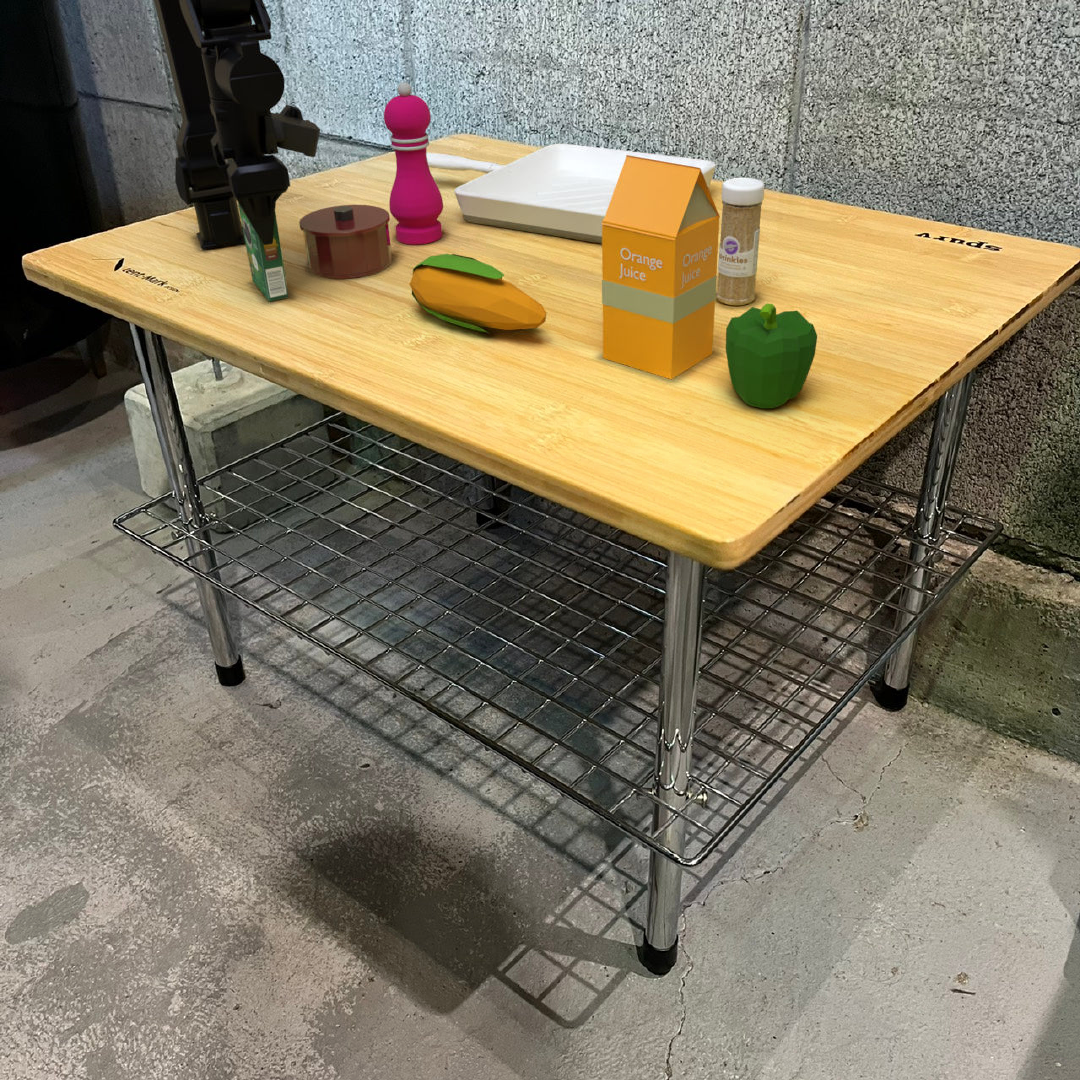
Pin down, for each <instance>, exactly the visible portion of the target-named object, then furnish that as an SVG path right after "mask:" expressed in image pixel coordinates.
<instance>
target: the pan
mask: <svg viewBox="0 0 1080 1080" xmlns="http://www.w3.org/2000/svg"><path fill="white" fill-rule="evenodd" d="M626 155H629V156H635V157H641V158H646V159H652V160H658V161H663V162H669V163H675V164H680V165H686V166H692V167H697V168H700V169H701V171H702V174H703V176H704V179H705V181H706V184H707V186H708V189H709V190H710V186H711V182H712V180H713V177H714V174H715V170H716V167H717V164H716V162H715V161H712V160H707V159H702V158H701V159H699V158H691V157H683V156H675V155H668V154H667V155H666V154H657V153H650V152H649V153H648V152H639V151H630V150H623V149H614V148H606V147H597V146H587V145H580V144H571V143H553V144H549V145H545V146H544V147H541V148H539V149H537V150H534V151H533V152H531V153H528V154H526V155H524V156H522V157H520V158H518V159H516V160H514V161H511V162H509V163H507V164H505V165H504V164H499V163H498V162H493V161H492V162H491V161H482V160H476V159H470V158H468V157H463V156H461V155H453V154H446V153H438V152H426V156H427V162H428V166H429V168H431V169H439V170H445V171H456V172H465V171H474V172H478V173H484V174H483V175H481V176H479V177H476V178H474V179H472V180H469V181H468V182H465V183H463V184H460V185H459V186H457V187H456V188H454V191H453V193H454V195H455V198H456V200H457V204H458V206H459V209H460V212H461V214H462V216H463V218H464V220H465V221H466V222H468V223H471V224H478V225H483V226H489V227H495V228H503V229H508V230H514V231H515V230H516V231H522V232H528V233H534V234H539V235H540V234H541V235H546V236H552V237H553V236H554V237H559V238H565V239H570V240H577V241H582V242H589V243H594V244H600V245H602V221H603V220H604V218H605V215H606V212H607V209H608V206H609V204H610V201H611V198H612V195H613V192H614V190H615V187H616V184H617V181H618V178H619V176H620V173H621V170H622V167H623V164H624V162H625V159H626Z"/></svg>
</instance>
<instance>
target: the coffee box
mask: <svg viewBox="0 0 1080 1080" xmlns="http://www.w3.org/2000/svg"><path fill="white" fill-rule="evenodd" d="M237 204H238V210H239V215H240V220H241V225H242V227H243V231H244V237H245V242H246V243H245V247H246V252H247V258H248V263H249V268H250V273H251V280H252V282H253V284H254V285H255V286H256V288H258V290H259V291H260V292H261V294H262V295H263V296H264V297H265V299H266V300H267V301H268V302H273V301H281V300H286V299H289V297H290V296H289V295H290V294H289V289H288V282H287V276H286V270H285V264H284V259H283V252H282V245H281V239H280V233H279V227H278V221H277V214H276V212H275V219H274V235H273V243H272V244H269V245H264V244H263V243H262V241H261V239H260V238H259V236H258V234H257V233H256V231H255V229H254V228H253V226H252V224H251V223H250V221H249V219H248V218H247V216H246V214H245V213H244V211H243V209H242V208H241V206H240V204H239V203H238V202H237Z"/></svg>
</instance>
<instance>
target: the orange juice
mask: <svg viewBox="0 0 1080 1080" xmlns="http://www.w3.org/2000/svg"><path fill="white" fill-rule="evenodd" d="M720 218H721V216H720V214H719V211H718V208H717V207H716V203H715V200H714V199H713V196H712V194H711V192H710V188H709V189H708V186H707V184H706V181H705V179H704V176H703V174H702V171H701V169H700V168H697V167H692V166H686V165H680V164H675V163H669V162H663V161H658V160H652V159H646V158H641V157H635V156H629V155H626V159H625V162H624V164H623V167H622V170H621V173H620V176H619V178H618V181H617V184H616V187H615V190H614V192H613V195H612V198H611V201H610V204H609V206H608V209H607V212H606V215H605V218H604V220H603V221H602V244H601V245H602V246H601V249H602V250H601V253H602V254H601V255H602V256H601V258H602V259H601V260H602V261H601V262H602V266H601V268H602V272H601V273H602V279H601V304H602V359H603V360H604V359H605V360H608V361H611V362H615V363H617V364H620V365H623V366H627V367H630V368H633V369H636V370H640V371H644V372H646V373H649V374H652V375H656V376H660V377H663V378H665V379H670V380H672V379H674V378H676V377H677V376H679V375H681V374H682V373H684V372H686V371H687V370H689V369H690V368H692V367H694V366H696V365H697V364H698V363H700V362H702V361H704V360H705V359H707V358H709V357H710V356H712V355H713V349H714V348H713V347H714V332H715V331H714V330H715V329H714V328H715V312H716V309H715V308H716V300H717V297H716V293H717V286H718V274H717V272H718V256H719V237H720V236H719V234H720Z"/></svg>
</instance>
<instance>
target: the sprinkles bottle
mask: <svg viewBox="0 0 1080 1080" xmlns="http://www.w3.org/2000/svg"><path fill="white" fill-rule="evenodd" d="M764 198H765V183H764V182H763V181H762V180H760V179H757V178H753V177H733V178H728V179H727V180H725V181H724V182H723V183H722V186H721V197H720V199H721V203H722V210H721V211H722V212H721V223H720V224H721V225H720V239H719V240H720V241H719V244H718V260H717V272H718V274H717V290H716V300H717V301H718V302H720V303H722V304H725V305H730V306H744V305H748V304H751V303H752V302H753V301H755V298H756V292H755V290H756V278H757V271H758V261H759V259H758V258H759V247H760V246H759V245H760V235H761V234H760V233H761V226H760V225H761V217H762V216H761V215H762V214H761V213H762V205H763V201H764Z"/></svg>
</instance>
